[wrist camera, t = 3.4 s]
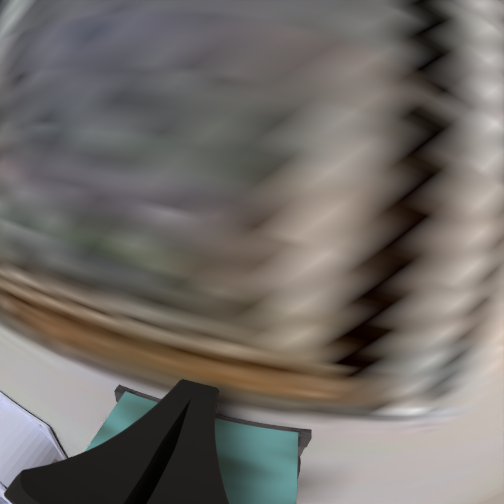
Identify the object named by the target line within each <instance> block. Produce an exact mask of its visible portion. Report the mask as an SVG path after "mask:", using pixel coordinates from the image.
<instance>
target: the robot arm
mask: <svg viewBox="0 0 504 504" xmlns="http://www.w3.org/2000/svg"><path fill="white" fill-rule="evenodd" d="M218 393H219V390H218V389H217V388H216V387H212V386H208V385H203V384H199V383H195V382H192V381H188V380H184V379H182V380H180V381H179V382H178V383H177V384H176V385H175V387H174V388H173V389H172V390H171V391H170V392H169V393H168V394H167V395H166V396H165V397H164V398H163V399H162V400H161V401H159V402H158V403H157V404H156V405H155V406H154V407H153V408H152V409H150V410H149V411H148V412H147V413H146V414H145V415H143V416H142V417H141V418H139V419H138V420H137V421H135V422H134V423H133V424H131V425H130V426H129V427H127V428H126V429H125V430H123V431H122V432H120V433H119V434H117V435H115V436H114V437H112V438H110V439H109V440H107V441H105V442H103V443H102V444H100V445H98V446H96V447H94V448H92V449H90V450H88V451H85V452H83V453H81V454H78V455H76V456H73V457H70V458H66V456H65V454H64V453H63V451H62V449H61V448H60V446H59V444H58V442H57V440H56V438H55V436H54V435H53V433H52V431H51V429H50V427H49V426H48V425H47V424H45V423H44V422H42V421H41V420H39V419H37V418H36V417H34V416H33V415H31V414H30V413H28V412H27V411H26V410H24V409H23V408H21V407H20V406H18V405H17V404H16V403H14V402H13V401H12V400H10V399H9V398H8V397H6V396H5V395H4V394H2V393H1V392H0V504H229V502H228V499H227V496H226V492H225V489H224V485H223V481H222V477H221V473H220V468H219V462H218V456H217V449H216V440H215V416H216V408H217V401H218ZM55 459H56V460H57V461H59V462H56V463H53V461H54V460H55Z"/></svg>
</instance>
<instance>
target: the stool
mask: <svg viewBox="0 0 504 504" xmlns="http://www.w3.org/2000/svg"><path fill="white" fill-rule="evenodd" d="M156 404H157V402H154V401H151V400H148V399H145V398H142V397H140V396H137V395H134V394H131V393H128V392H126V391H125V393H124V394H123V396H122V397H121V399H120V400H119V401H118V403H117V404H116V406H115V407H114V409H113V410H112V412H111V413H110V415H109V416H108V418H107V419H106V421H105V422H104V424H103V425H102V427H101V428H100V430H99V431H98V433H97V434H96V436H95V437H94V439H93V440H92V442H91V443H90V445H89V446H88V448H87V449H86V451H88V450H90V449H92V448H94V447H96V446H98V445H100V444H102V443H103V442H105V441H107V440H109V439H110V438H112V437H114V436H115V435H117V434H119V433H120V432H122V431H123V430H125V429H126V428H127V427H129V426H130V425H131V424H133V423H134V422H135V421H137V420H138V419H139V418H141V417H142V416H143V415H145V414H146V413H147V412H148V411H149V410H150V409H152V408H153V407H154V406H155V405H156ZM215 440H216V449H217V456H218V462H219V468H220V473H221V477H222V481H223V485H224V489H225V492H226V496H227V499H228V502H229V504H296V495H297V479H298V476H299V472H300V464H301V460H300V456H298V433H297V432H289V431H281V430H274V429H267V428H261V427H255V426H249V425H244V424H239V423H234V422H229V421H224V420H220V419H216V418H215Z"/></svg>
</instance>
